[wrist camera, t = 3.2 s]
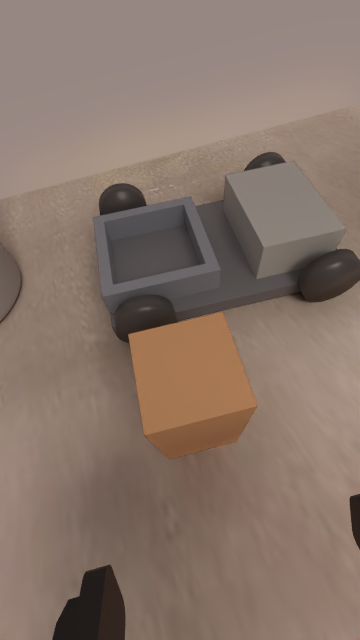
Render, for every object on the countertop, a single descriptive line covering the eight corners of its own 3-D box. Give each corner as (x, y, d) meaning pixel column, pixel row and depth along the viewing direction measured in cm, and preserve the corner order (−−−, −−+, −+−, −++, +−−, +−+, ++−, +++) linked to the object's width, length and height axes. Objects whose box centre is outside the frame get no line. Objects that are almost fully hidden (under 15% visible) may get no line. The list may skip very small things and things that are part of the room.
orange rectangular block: (216, 377, 24) (222, 311, 15) (236, 441, 21) (257, 406, 13) (156, 392, 23) (128, 334, 15) (169, 459, 21) (144, 435, 12)
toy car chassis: (283, 189, 35) (295, 142, 30) (354, 293, 27) (385, 250, 22) (102, 228, 34) (85, 185, 29) (118, 350, 26) (99, 317, 21)
